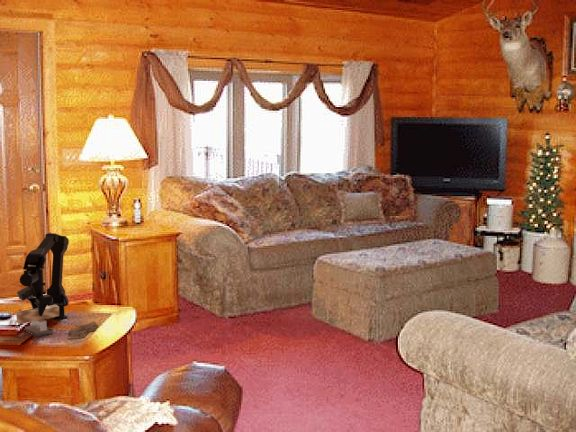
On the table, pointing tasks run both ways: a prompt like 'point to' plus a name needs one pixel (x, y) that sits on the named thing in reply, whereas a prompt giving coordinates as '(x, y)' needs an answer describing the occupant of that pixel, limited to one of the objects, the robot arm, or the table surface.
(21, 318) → the birch rod
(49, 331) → the balance ridge
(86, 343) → the table surface
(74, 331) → the wooden fragment
